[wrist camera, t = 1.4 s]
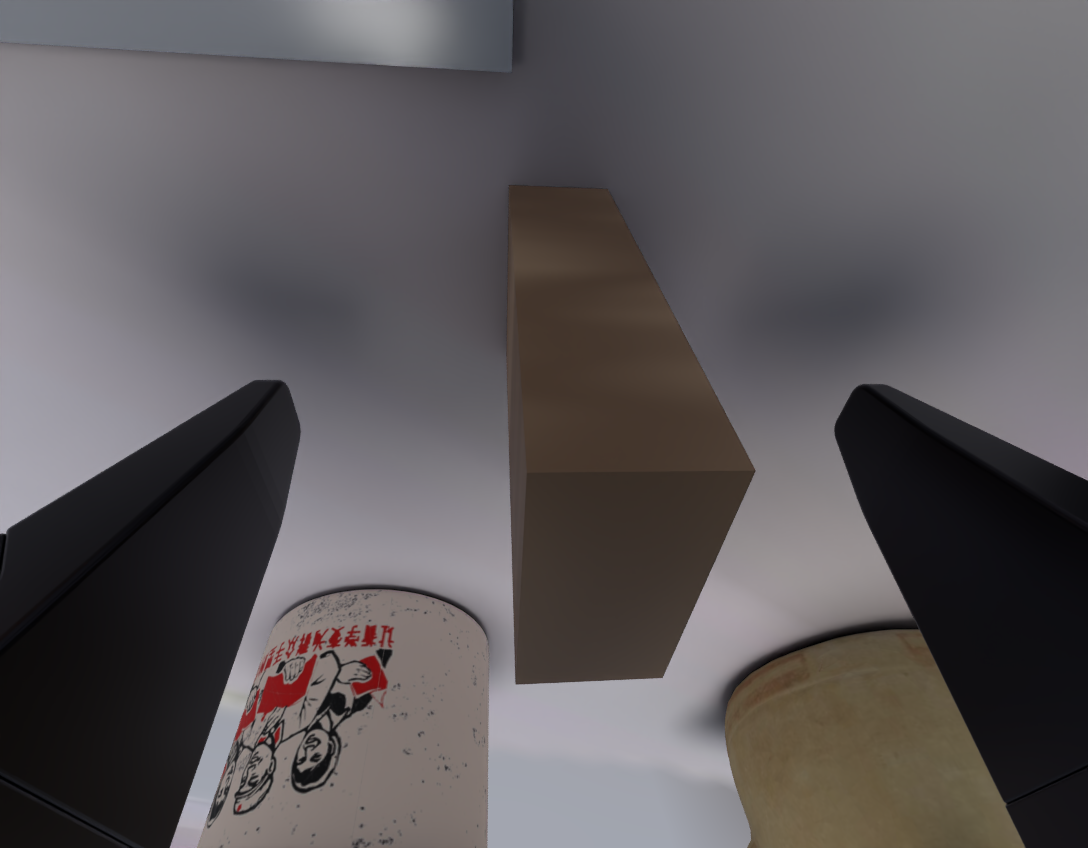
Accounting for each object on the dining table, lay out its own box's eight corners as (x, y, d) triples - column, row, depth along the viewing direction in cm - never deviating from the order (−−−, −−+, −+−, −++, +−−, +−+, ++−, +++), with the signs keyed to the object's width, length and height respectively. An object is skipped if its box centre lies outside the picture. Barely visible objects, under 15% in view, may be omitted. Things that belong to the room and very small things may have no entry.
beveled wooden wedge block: (607, 189, 11) (754, 470, 5) (586, 355, 13) (662, 677, 7) (508, 184, 10) (527, 472, 4) (506, 355, 13) (515, 684, 7)
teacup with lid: (381, 548, 18) (266, 1122, 9) (537, 645, 23) (564, 1070, 14) (171, 663, 22) (-53, 1140, 13) (345, 724, 27) (270, 1095, 18)
